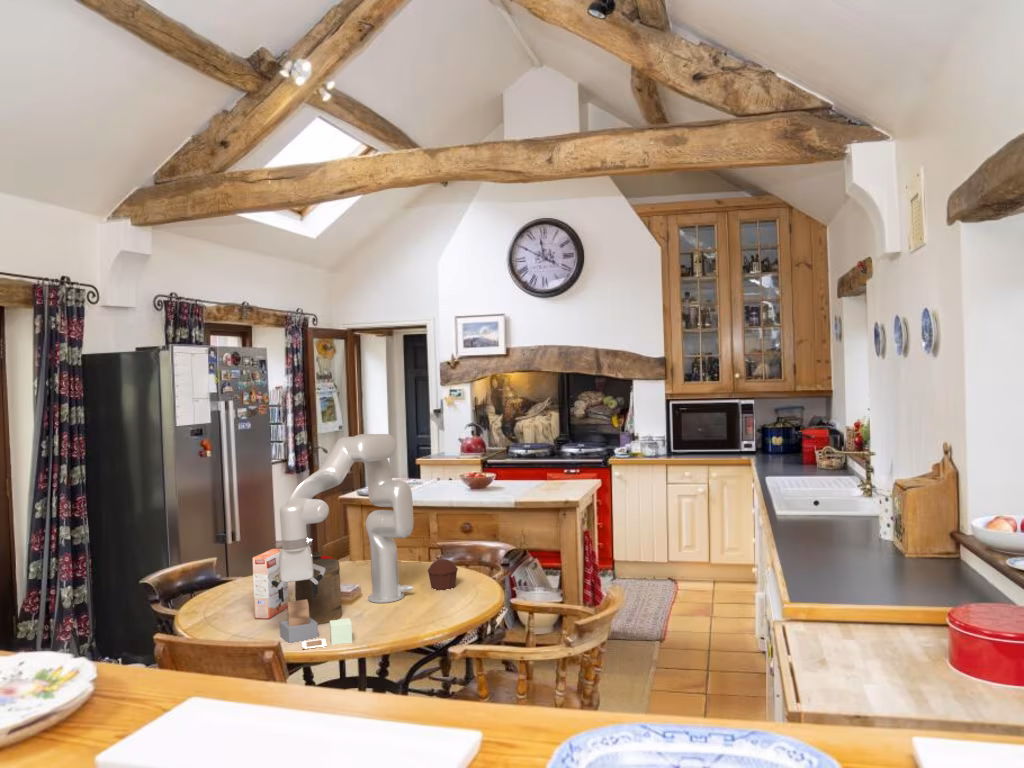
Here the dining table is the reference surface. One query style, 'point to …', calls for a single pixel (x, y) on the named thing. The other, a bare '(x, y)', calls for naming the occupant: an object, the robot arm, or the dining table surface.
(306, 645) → the tile
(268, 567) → the cracker box
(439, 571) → the muffin
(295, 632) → the base block
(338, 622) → the sage cube
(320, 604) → the wooden container
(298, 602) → the walnut cube
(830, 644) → the dining table surface
